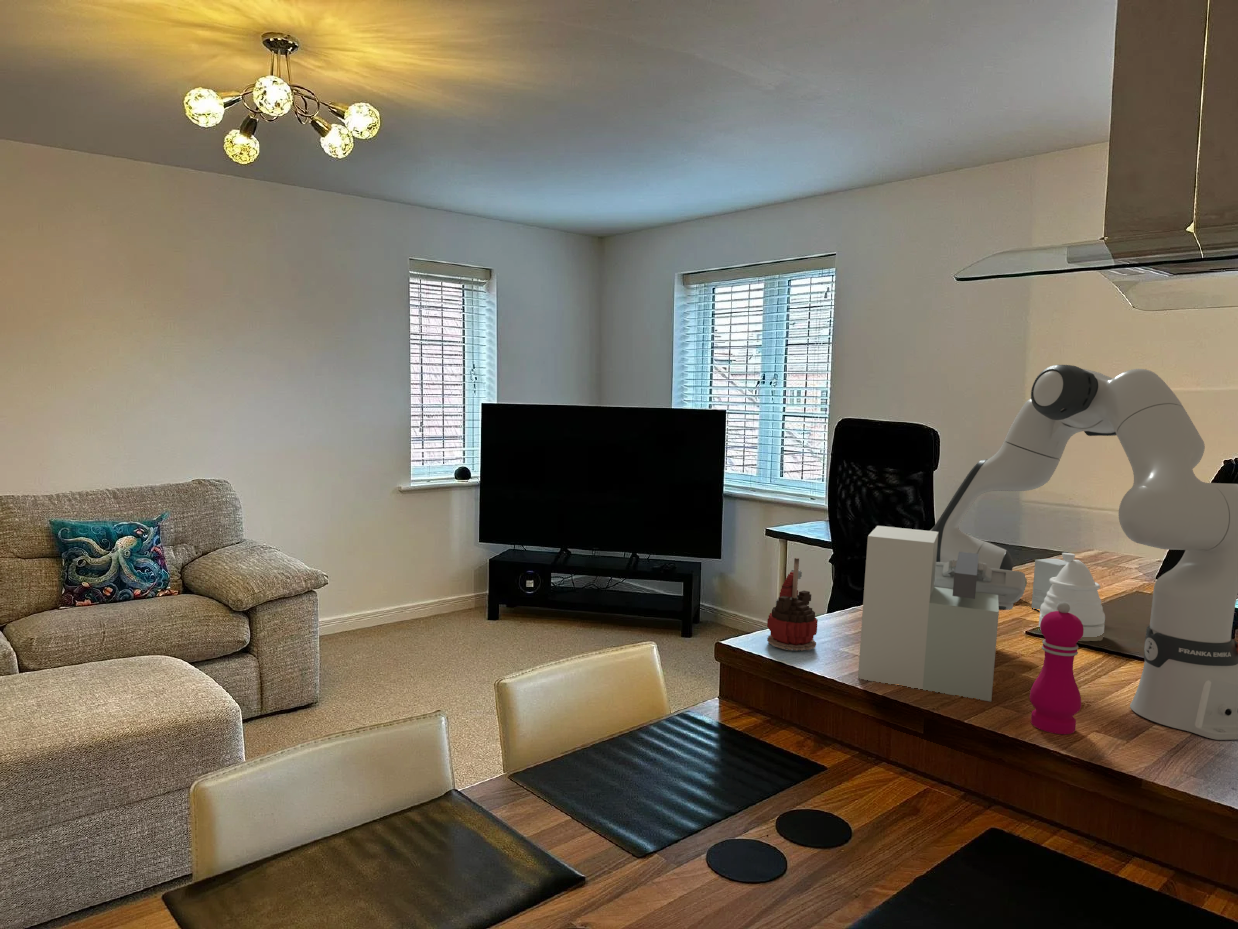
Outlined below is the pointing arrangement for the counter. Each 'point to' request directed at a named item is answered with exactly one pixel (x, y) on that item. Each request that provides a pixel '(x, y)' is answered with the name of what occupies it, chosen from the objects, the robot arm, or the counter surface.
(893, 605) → the step stand
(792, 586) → the cake
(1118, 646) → the counter surface
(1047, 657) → the pepper mill
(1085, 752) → the counter surface
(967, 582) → the gray rectangular bar
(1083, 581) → the honey pot
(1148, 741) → the counter surface
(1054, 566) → the supplement box
